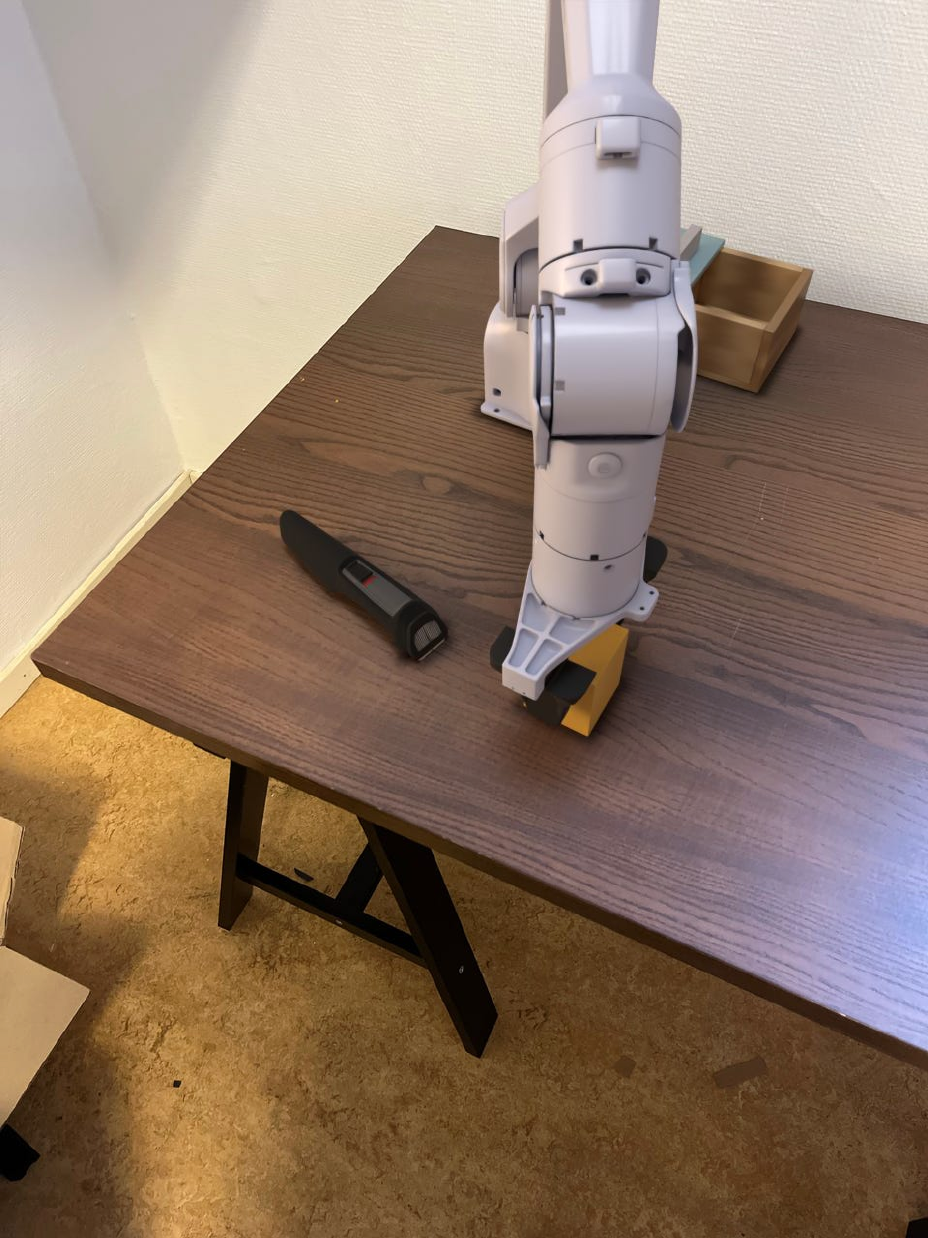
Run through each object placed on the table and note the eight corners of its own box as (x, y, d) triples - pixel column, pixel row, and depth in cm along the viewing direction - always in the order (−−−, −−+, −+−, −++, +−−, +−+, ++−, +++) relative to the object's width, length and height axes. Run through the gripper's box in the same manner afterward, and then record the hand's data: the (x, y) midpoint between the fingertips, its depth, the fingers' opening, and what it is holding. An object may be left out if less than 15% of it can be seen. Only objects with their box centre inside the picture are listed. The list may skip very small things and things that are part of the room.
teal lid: (571, 272, 74) (573, 244, 72) (620, 218, 79) (623, 190, 77) (679, 303, 71) (685, 274, 69) (724, 245, 76) (730, 216, 74)
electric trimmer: (312, 524, 66) (304, 494, 64) (452, 634, 59) (449, 606, 57) (273, 551, 65) (263, 522, 62) (412, 667, 58) (407, 640, 55)
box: (647, 359, 76) (657, 298, 71) (691, 301, 81) (702, 240, 76) (757, 393, 73) (774, 332, 68) (795, 330, 78) (814, 269, 73)
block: (523, 705, 55) (524, 653, 51) (556, 654, 58) (560, 600, 53) (587, 737, 54) (595, 686, 49) (619, 683, 56) (629, 629, 51)
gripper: (599, 655, 38) (579, 791, 48) (722, 456, 45) (680, 613, 56) (462, 594, 40) (472, 736, 51) (599, 413, 47) (582, 572, 58)
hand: (574, 669), depth 53 cm, fingers open, 7 cm apart
